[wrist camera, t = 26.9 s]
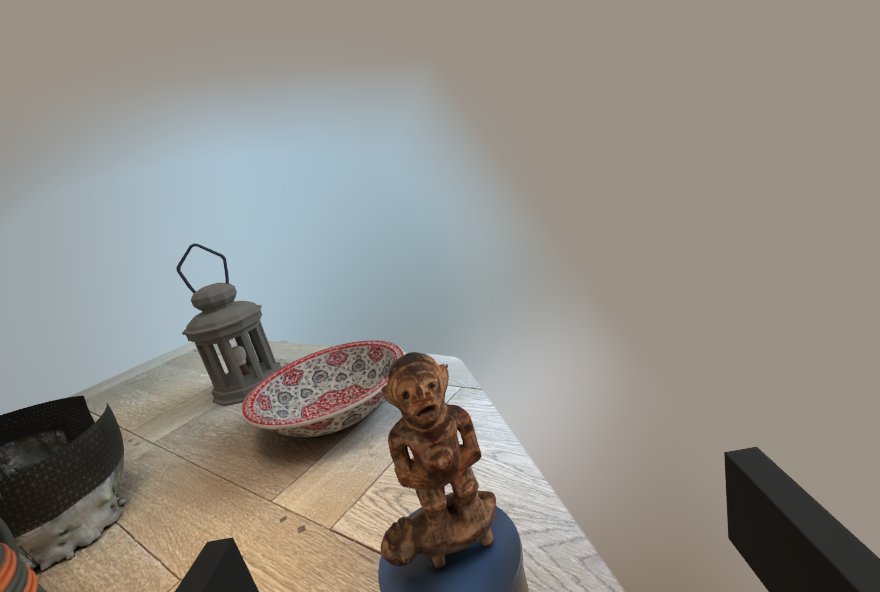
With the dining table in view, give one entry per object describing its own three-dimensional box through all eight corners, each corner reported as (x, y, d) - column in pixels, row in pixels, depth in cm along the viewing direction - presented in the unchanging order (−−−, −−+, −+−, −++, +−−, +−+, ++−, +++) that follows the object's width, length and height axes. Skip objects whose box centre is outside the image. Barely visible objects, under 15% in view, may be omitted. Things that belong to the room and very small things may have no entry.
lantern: (281, 361, 110) (233, 232, 100) (290, 383, 95) (235, 234, 85) (213, 387, 103) (155, 252, 93) (211, 415, 88) (142, 258, 79)
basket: (135, 438, 86) (100, 369, 82) (158, 518, 60) (107, 423, 55) (-60, 531, 69) (-119, 451, 65) (-151, 701, 43) (-260, 586, 38)
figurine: (384, 582, 29) (317, 394, 24) (427, 507, 34) (379, 343, 30) (474, 612, 25) (415, 400, 21) (506, 523, 31) (464, 342, 27)
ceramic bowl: (390, 360, 94) (381, 328, 92) (440, 417, 68) (428, 374, 66) (258, 411, 85) (244, 377, 83) (255, 500, 59) (235, 453, 56)
